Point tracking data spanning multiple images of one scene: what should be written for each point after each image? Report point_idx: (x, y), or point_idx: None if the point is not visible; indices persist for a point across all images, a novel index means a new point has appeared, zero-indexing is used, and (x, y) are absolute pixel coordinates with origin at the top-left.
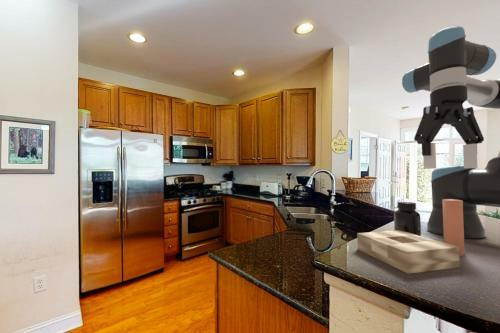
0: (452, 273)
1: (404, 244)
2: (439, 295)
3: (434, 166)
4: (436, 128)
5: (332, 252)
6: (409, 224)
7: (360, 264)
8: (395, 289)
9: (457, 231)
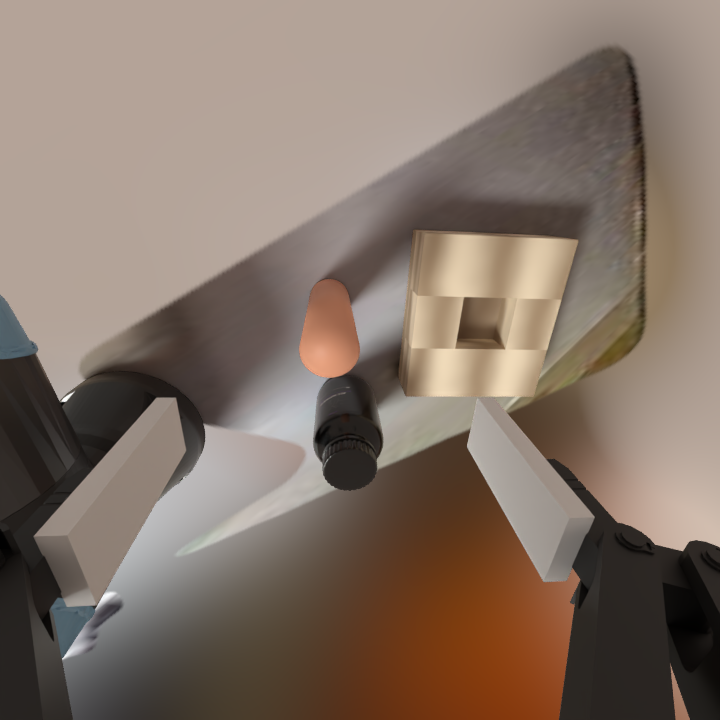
0: (464, 209)
1: (524, 289)
2: (596, 140)
3: (493, 403)
4: (660, 700)
5: (577, 374)
6: (368, 405)
7: (586, 302)
8: (639, 186)
9: (341, 297)
